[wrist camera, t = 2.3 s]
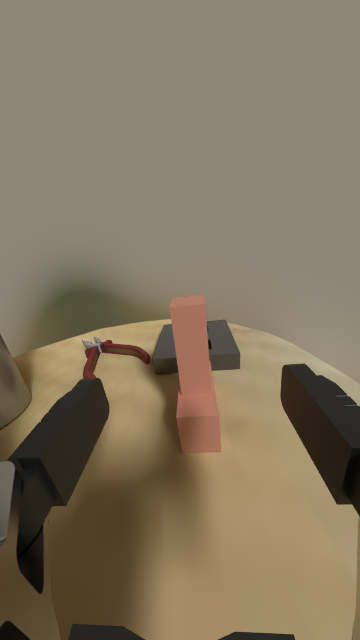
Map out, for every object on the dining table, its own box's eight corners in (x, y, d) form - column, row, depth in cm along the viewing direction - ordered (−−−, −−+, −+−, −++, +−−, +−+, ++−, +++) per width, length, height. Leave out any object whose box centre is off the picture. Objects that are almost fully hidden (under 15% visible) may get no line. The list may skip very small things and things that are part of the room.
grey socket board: (155, 374, 34) (152, 359, 32) (165, 336, 46) (163, 324, 45) (240, 368, 32) (240, 352, 31) (225, 331, 45) (225, 319, 44)
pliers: (111, 334, 52) (109, 325, 51) (154, 363, 38) (151, 351, 37) (64, 353, 46) (60, 343, 45) (93, 396, 31) (88, 383, 30)
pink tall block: (182, 452, 21) (160, 320, 15) (184, 391, 29) (171, 291, 23) (220, 451, 20) (213, 315, 15) (211, 390, 29) (205, 288, 23)
